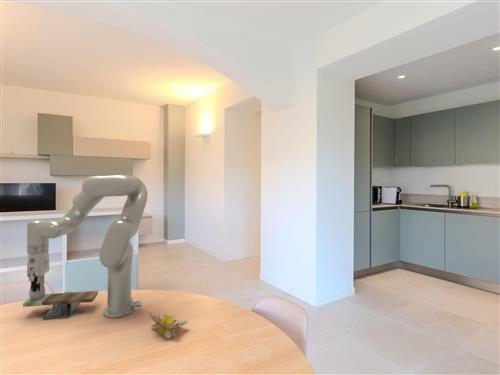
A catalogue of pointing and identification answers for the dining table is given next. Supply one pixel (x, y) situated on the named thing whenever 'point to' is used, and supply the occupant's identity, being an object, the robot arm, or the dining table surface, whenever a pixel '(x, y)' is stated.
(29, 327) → the dining table surface
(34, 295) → the salt shaker
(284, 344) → the dining table surface
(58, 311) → the beam stand
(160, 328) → the decorative flower
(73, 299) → the balance beam
